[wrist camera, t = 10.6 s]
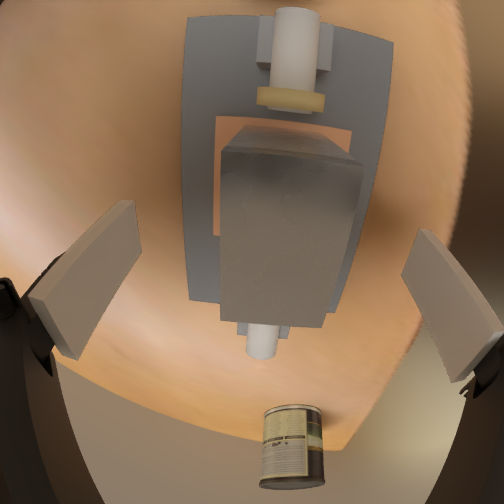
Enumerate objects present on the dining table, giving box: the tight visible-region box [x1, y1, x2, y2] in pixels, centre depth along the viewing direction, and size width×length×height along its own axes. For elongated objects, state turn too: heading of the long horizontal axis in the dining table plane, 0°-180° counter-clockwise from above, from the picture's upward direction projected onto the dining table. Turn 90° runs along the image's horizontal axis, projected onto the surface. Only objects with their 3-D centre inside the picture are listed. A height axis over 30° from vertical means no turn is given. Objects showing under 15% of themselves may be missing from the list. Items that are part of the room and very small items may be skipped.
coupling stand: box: [181, 7, 394, 360], centre depth 17 cm, size 24×14×8 cm, turn 176°
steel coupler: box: [220, 125, 365, 328], centre depth 15 cm, size 5×8×9 cm, turn 176°
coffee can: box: [259, 405, 325, 490], centre depth 35 cm, size 10×10×14 cm
